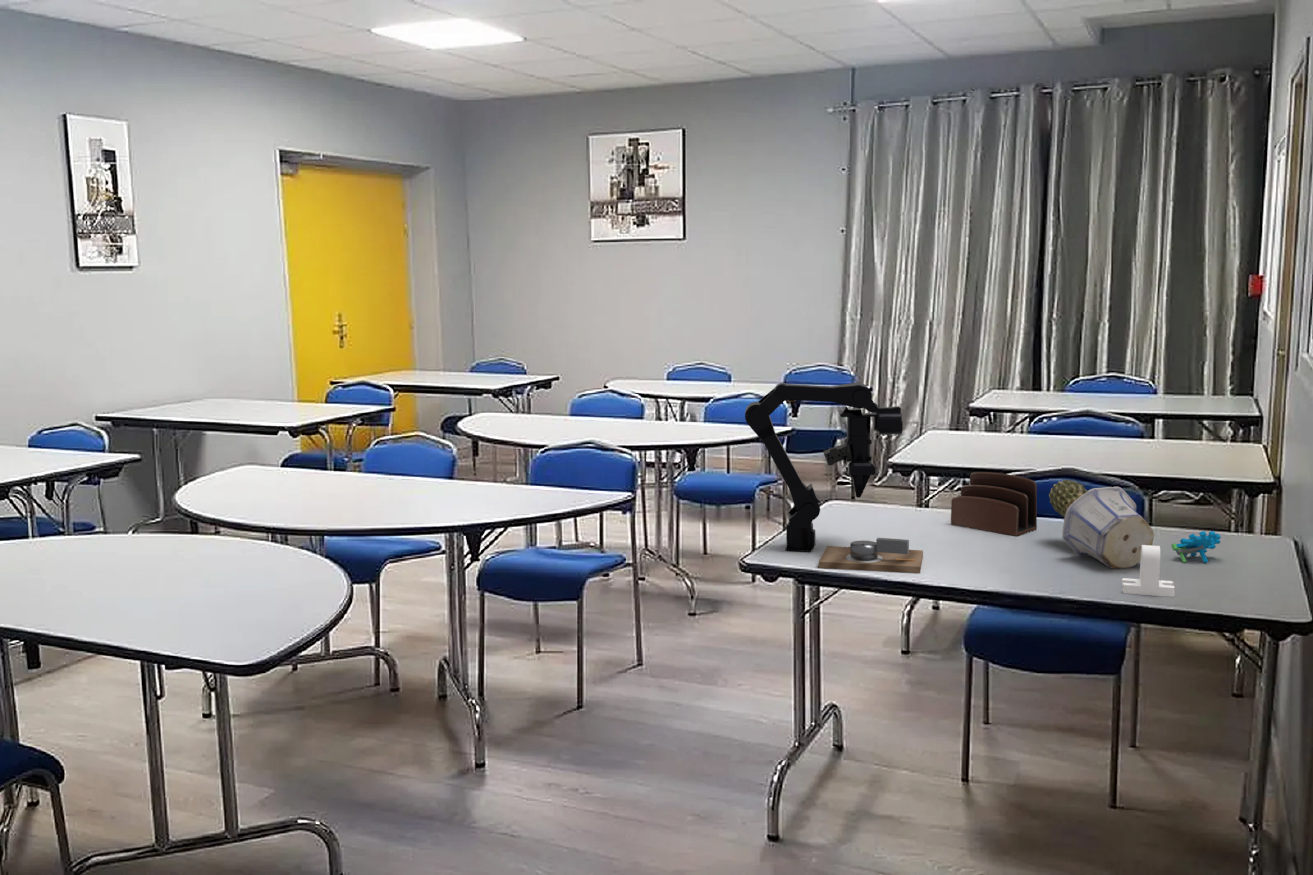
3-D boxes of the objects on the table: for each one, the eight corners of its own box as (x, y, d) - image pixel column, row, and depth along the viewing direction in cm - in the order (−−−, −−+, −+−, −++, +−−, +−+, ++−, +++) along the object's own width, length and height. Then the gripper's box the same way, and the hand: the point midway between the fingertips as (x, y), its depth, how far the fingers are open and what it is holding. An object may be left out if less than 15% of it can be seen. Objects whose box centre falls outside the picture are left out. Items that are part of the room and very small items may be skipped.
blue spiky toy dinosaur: (1212, 547, 259) (1223, 525, 251) (1222, 569, 256) (1234, 547, 248) (1165, 554, 260) (1174, 532, 252) (1174, 576, 257) (1184, 555, 249)
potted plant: (1172, 507, 245) (1097, 454, 273) (1099, 516, 242) (1030, 462, 269) (1160, 575, 252) (1088, 517, 279) (1088, 585, 249) (1022, 525, 276)
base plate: (818, 568, 256) (818, 560, 256) (827, 551, 271) (827, 544, 270) (920, 573, 250) (920, 565, 250) (923, 556, 264) (923, 549, 264)
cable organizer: (1174, 597, 228) (1176, 550, 226) (1122, 593, 231) (1124, 547, 230) (1172, 590, 233) (1174, 544, 231) (1121, 586, 236) (1123, 541, 235)
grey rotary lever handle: (847, 558, 256) (847, 539, 255) (853, 551, 262) (853, 533, 261) (905, 563, 251) (905, 544, 250) (910, 556, 257) (910, 537, 256)
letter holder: (970, 519, 302) (971, 468, 300) (1037, 530, 287) (1038, 477, 285) (950, 525, 296) (950, 473, 293) (1017, 537, 281) (1018, 483, 279)
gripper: (822, 429, 279) (822, 489, 281) (828, 440, 260) (828, 505, 263) (867, 429, 278) (866, 489, 280) (875, 440, 259) (875, 505, 262)
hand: (858, 497), depth 271 cm, fingers closed
